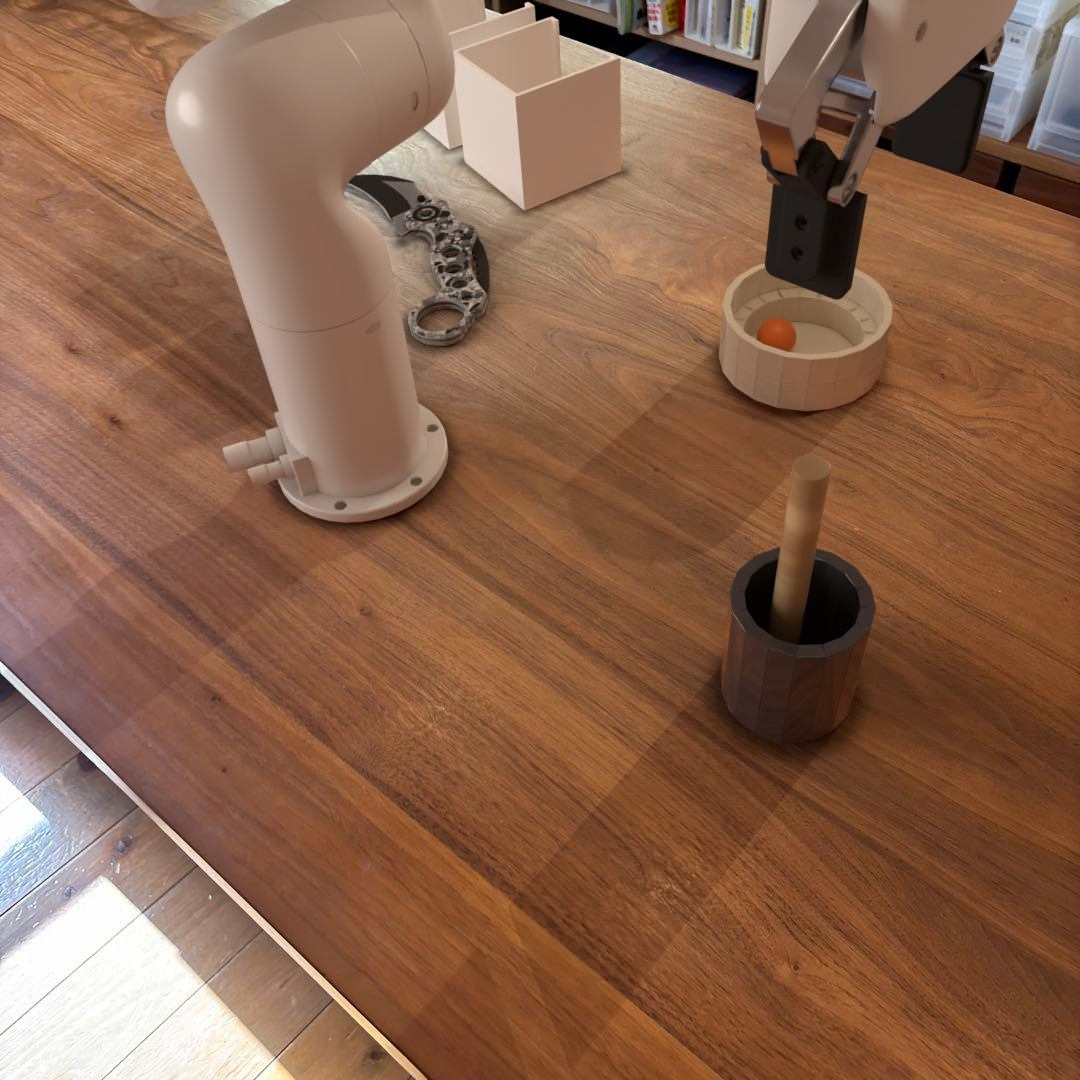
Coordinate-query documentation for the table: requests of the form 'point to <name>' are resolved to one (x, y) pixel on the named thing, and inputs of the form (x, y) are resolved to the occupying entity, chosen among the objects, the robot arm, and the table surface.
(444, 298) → the knife
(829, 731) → the utensil pot
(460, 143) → the open boxes
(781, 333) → the bead
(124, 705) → the table surface
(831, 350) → the bowl
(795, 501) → the stirring stick
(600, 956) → the table surface
